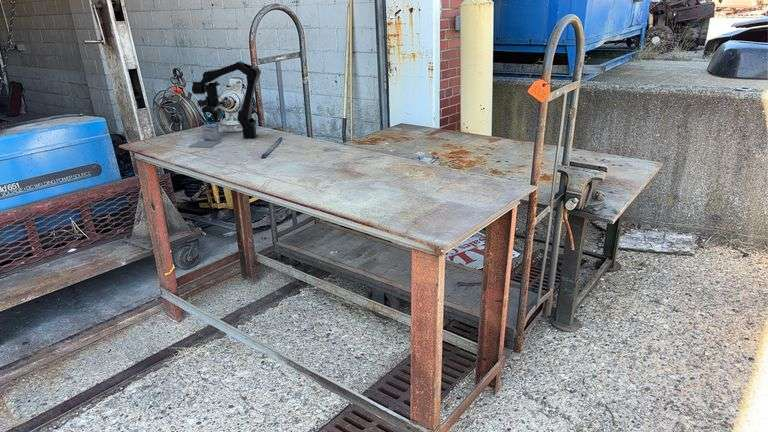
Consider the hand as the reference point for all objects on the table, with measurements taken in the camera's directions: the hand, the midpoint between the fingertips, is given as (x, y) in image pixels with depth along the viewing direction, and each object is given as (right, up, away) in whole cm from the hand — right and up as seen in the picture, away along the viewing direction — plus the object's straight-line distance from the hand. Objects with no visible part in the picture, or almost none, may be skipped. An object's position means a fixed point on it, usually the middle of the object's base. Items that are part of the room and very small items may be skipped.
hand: (216, 121), depth 310 cm
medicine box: (-1, -11, -3) cm, 12 cm away
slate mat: (-3, -14, -12) cm, 19 cm away
